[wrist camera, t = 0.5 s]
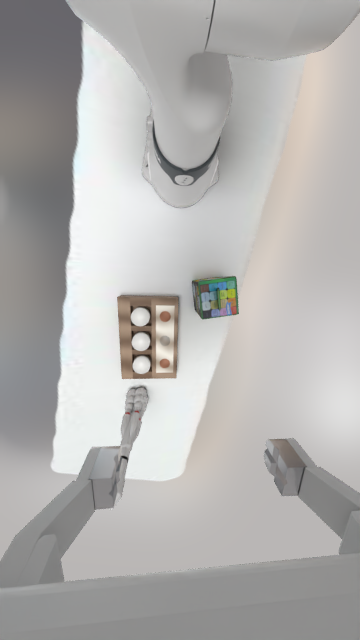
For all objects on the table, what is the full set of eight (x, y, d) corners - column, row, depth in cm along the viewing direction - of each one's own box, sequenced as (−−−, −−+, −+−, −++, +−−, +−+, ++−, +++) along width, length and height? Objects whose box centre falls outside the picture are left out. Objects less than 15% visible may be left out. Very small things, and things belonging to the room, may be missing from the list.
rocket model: (141, 406, 60) (118, 530, 31) (122, 396, 58) (79, 516, 29) (154, 390, 59) (141, 504, 30) (135, 379, 57) (102, 487, 28)
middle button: (133, 330, 50) (131, 334, 47) (150, 330, 51) (149, 334, 48) (133, 346, 51) (132, 351, 49) (150, 346, 52) (149, 351, 49)
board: (121, 295, 50) (116, 297, 46) (177, 296, 52) (178, 298, 47) (124, 371, 56) (121, 379, 52) (175, 371, 57) (176, 378, 53)
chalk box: (224, 307, 53) (245, 318, 39) (194, 311, 53) (204, 324, 39) (222, 275, 51) (244, 275, 37) (191, 279, 51) (200, 281, 36)
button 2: (132, 306, 49) (130, 308, 46) (150, 306, 49) (149, 308, 46) (133, 323, 50) (131, 326, 47) (150, 323, 50) (149, 326, 47)
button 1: (134, 353, 52) (132, 358, 49) (150, 353, 52) (149, 358, 49) (134, 368, 53) (132, 374, 50) (151, 368, 53) (150, 373, 51)
